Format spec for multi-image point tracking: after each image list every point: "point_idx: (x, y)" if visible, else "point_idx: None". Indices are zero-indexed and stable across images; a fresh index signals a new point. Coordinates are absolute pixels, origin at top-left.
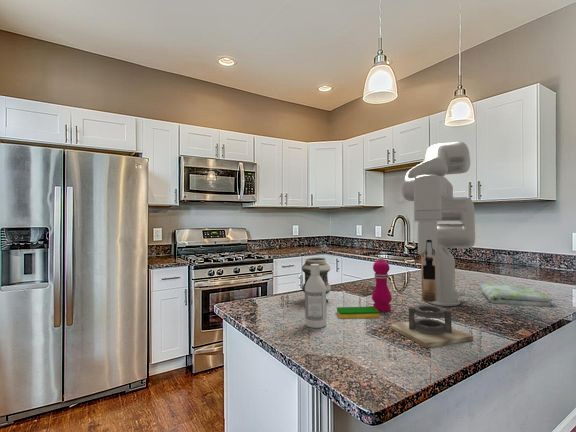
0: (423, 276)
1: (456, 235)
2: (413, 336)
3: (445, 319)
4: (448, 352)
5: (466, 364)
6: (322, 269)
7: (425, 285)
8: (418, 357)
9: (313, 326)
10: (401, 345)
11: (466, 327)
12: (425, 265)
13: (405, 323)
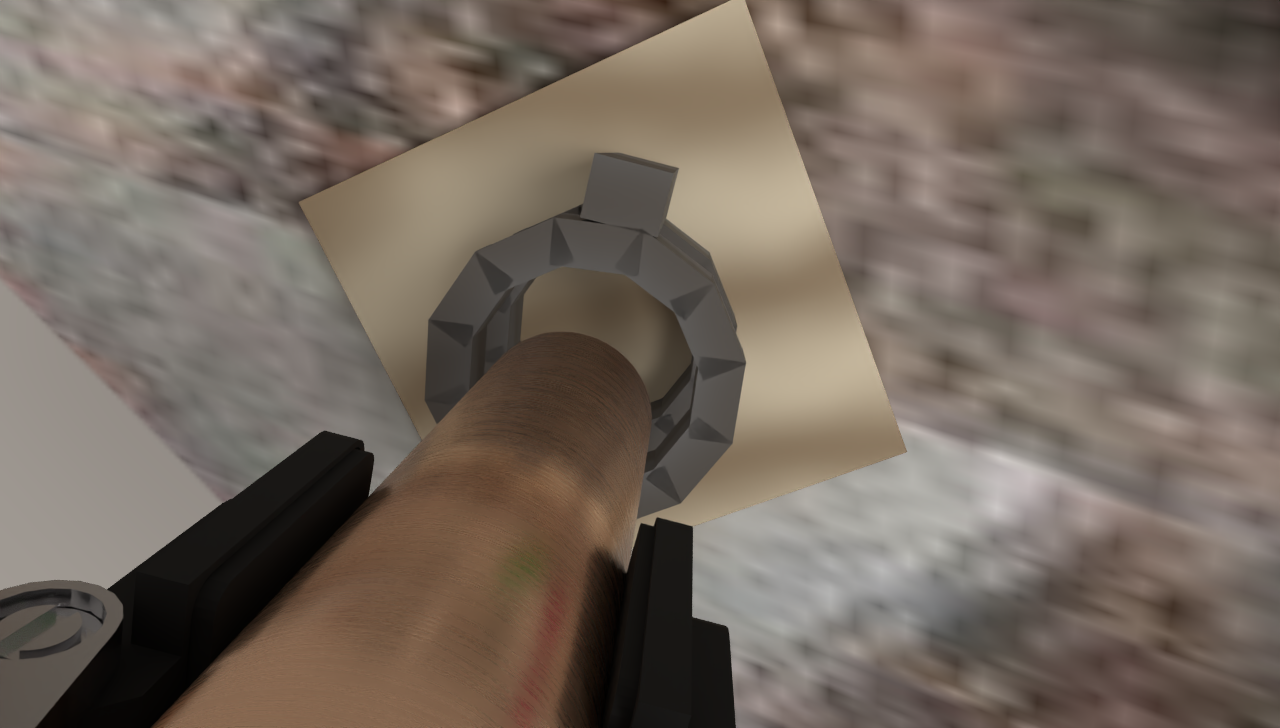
0: (303, 445)
1: None
2: (436, 143)
3: None
4: (265, 332)
5: (103, 371)
6: None
7: (435, 426)
8: (134, 92)
9: None
10: (333, 13)
11: (776, 643)
12: (38, 615)
13: (778, 158)
